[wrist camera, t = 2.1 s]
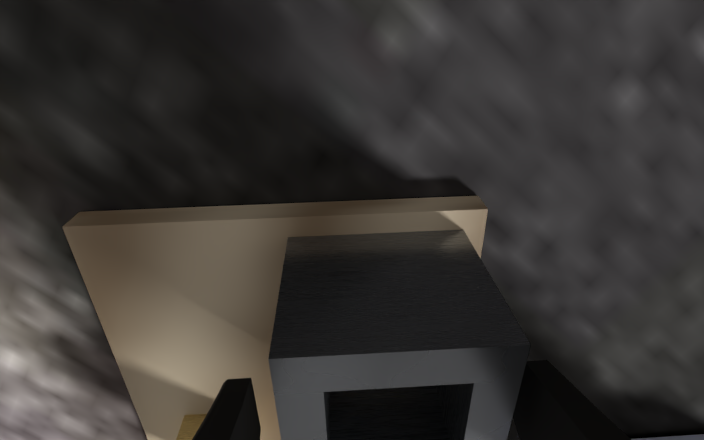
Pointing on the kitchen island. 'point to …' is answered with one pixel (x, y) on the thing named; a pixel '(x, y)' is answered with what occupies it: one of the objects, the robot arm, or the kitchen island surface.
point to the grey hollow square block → (393, 340)
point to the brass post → (190, 426)
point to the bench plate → (217, 289)
